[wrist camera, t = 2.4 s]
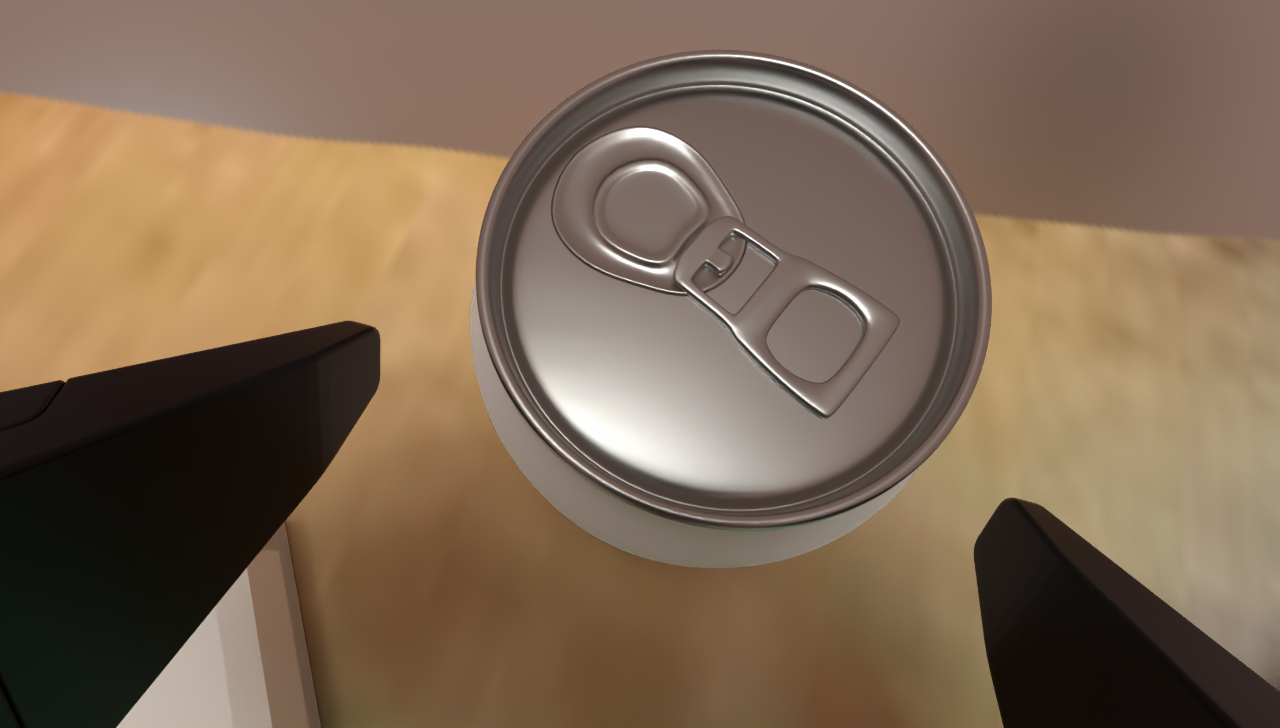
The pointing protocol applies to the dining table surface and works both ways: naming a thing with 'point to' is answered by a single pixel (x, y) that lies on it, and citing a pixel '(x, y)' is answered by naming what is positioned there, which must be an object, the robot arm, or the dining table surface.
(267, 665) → the tray
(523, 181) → the can
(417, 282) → the dining table surface
